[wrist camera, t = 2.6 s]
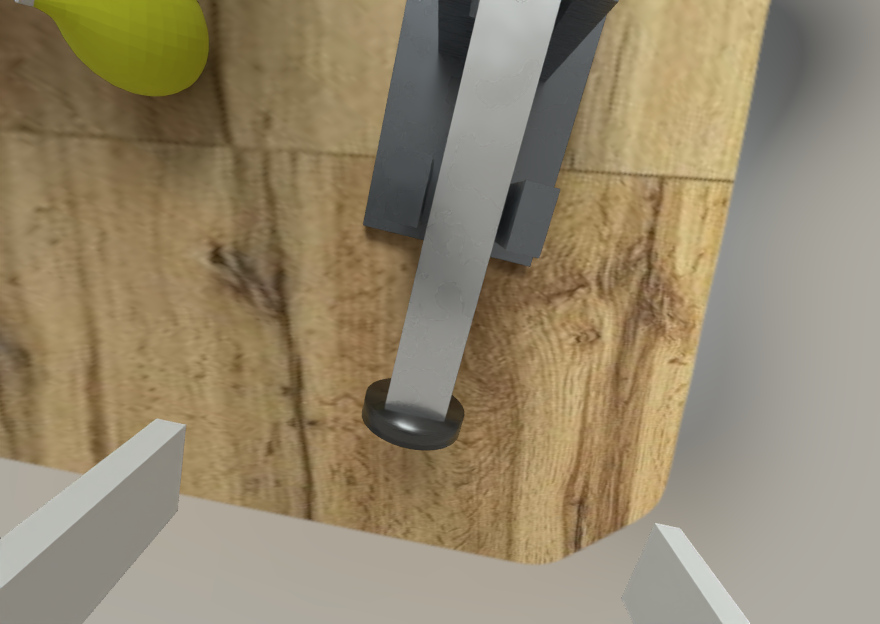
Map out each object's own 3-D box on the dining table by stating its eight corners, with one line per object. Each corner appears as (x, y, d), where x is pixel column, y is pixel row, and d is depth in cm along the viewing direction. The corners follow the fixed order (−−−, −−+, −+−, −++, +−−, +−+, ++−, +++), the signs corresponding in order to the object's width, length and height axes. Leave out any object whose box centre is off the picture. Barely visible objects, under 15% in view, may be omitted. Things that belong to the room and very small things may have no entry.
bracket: (365, 224, 30) (318, 239, 18) (439, -153, 24) (440, -479, 13) (527, 264, 30) (582, 304, 19) (634, -92, 25) (805, -346, 13)
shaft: (370, 387, 26) (352, 436, 21) (510, -246, 18) (540, -433, 13) (457, 406, 26) (461, 459, 21) (630, -206, 19) (708, -372, 13)
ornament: (102, 66, 27) (-85, -8, 17) (142, -43, 25) (-38, -193, 16) (204, 129, 28) (81, 92, 18) (249, 27, 26) (140, -73, 17)
